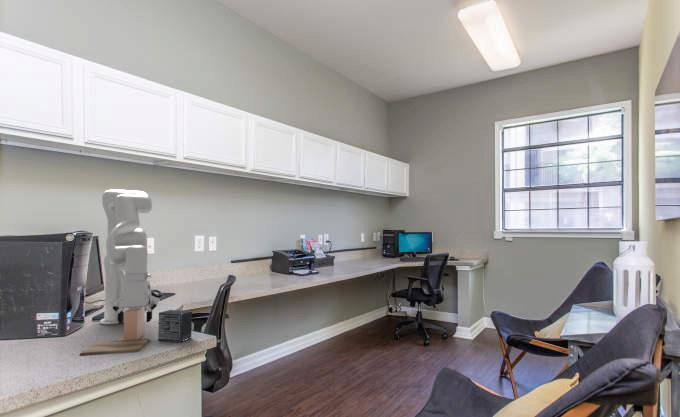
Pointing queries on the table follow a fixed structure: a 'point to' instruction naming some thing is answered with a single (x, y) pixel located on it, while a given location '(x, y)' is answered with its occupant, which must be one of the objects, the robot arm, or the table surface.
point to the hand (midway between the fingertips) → (134, 322)
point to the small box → (174, 325)
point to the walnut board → (115, 346)
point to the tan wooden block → (134, 323)
